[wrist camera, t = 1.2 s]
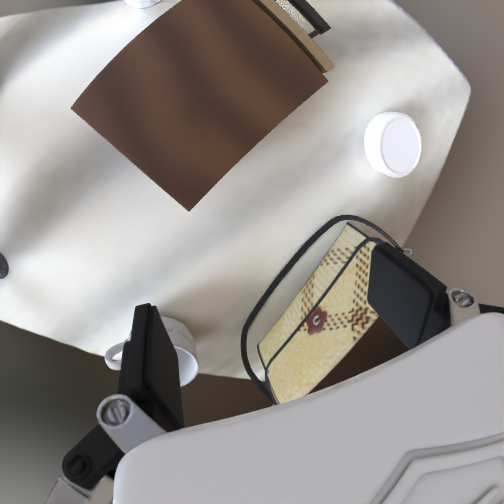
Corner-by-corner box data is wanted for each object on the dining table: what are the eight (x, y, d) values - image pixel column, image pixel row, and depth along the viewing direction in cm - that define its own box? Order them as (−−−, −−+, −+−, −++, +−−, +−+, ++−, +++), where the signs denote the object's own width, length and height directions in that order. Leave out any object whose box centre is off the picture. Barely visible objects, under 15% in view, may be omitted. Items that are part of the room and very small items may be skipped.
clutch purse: (330, 194, 38) (399, 235, 25) (360, 217, 41) (426, 261, 28) (226, 345, 46) (246, 417, 33) (259, 354, 49) (285, 420, 36)
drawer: (256, -14, 22) (278, -45, 14) (325, 56, 28) (364, 44, 21) (122, 92, 25) (102, 82, 18) (202, 164, 32) (209, 178, 24)
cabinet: (208, 13, 24) (221, -25, 14) (287, 90, 30) (328, 81, 21) (102, 111, 26) (70, 108, 17) (186, 186, 33) (189, 211, 24)
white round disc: (379, 98, 33) (394, 98, 30) (416, 135, 37) (431, 138, 34) (351, 152, 36) (365, 156, 33) (392, 184, 40) (406, 190, 37)
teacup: (199, 311, 42) (205, 348, 35) (189, 358, 46) (193, 394, 39) (110, 298, 37) (100, 334, 30) (110, 348, 41) (105, 384, 34)
